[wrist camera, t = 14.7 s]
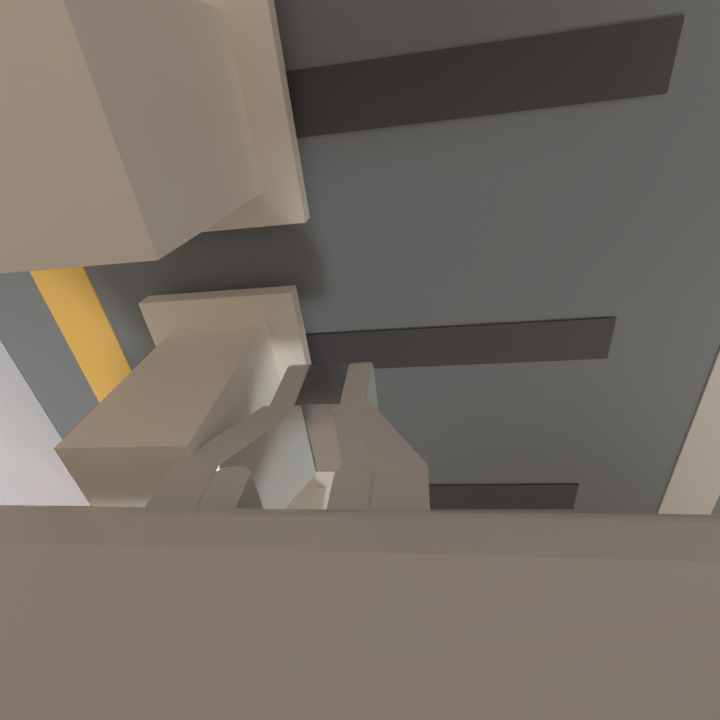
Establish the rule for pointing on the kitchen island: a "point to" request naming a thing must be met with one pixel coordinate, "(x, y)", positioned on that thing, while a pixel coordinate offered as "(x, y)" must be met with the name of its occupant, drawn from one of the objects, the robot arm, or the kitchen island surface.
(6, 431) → the kitchen island surface
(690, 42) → the switch board
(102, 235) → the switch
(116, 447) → the switch mid
